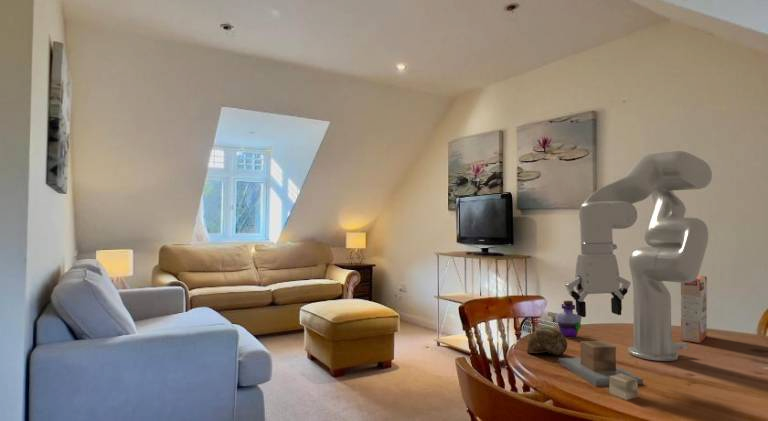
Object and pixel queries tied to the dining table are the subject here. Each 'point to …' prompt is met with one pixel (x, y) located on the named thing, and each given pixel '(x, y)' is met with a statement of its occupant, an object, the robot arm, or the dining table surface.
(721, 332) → the dining table surface
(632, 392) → the beech block
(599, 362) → the walnut cube
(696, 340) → the cracker box
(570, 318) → the potion bottle
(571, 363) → the plate
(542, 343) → the grey-brown rock
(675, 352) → the robot arm
